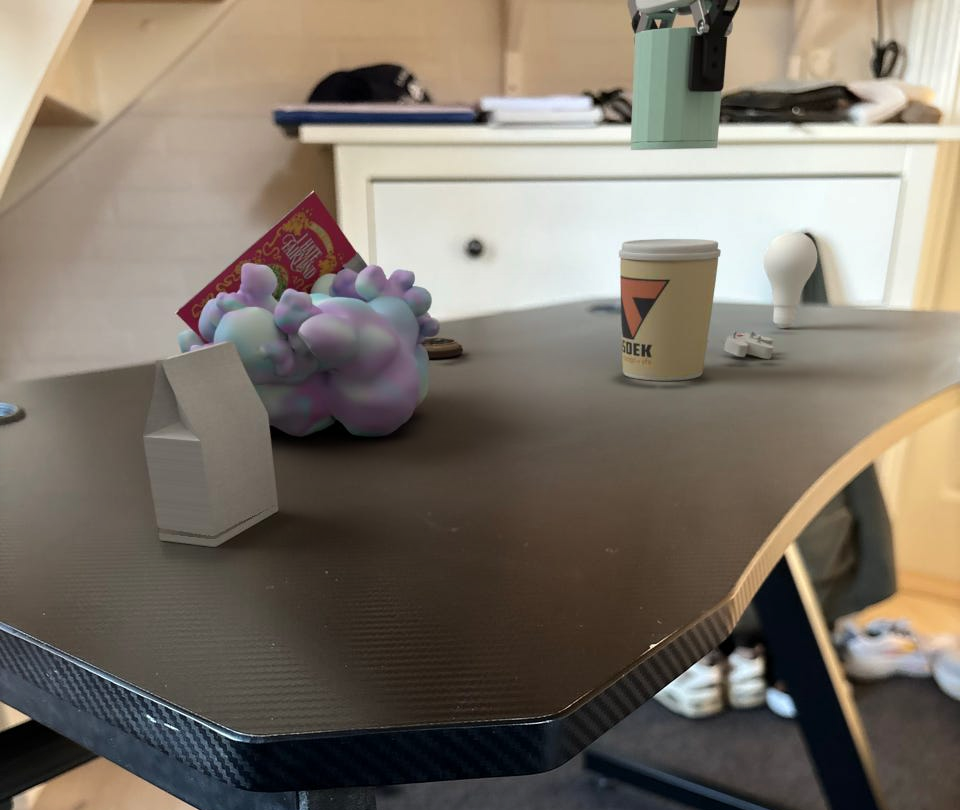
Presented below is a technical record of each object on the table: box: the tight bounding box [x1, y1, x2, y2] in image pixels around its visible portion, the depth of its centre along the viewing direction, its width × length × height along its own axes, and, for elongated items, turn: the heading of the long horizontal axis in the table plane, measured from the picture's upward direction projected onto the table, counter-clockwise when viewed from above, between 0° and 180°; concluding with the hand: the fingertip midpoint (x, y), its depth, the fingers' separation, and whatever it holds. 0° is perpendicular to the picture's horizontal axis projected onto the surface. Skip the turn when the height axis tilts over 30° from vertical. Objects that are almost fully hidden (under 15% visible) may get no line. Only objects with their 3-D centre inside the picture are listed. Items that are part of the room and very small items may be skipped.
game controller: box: [707, 330, 774, 360], centre depth 107 cm, size 6×12×3 cm, turn 61°
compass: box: [420, 337, 464, 359], centre depth 110 cm, size 8×8×7 cm
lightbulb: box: [763, 231, 818, 329], centre depth 121 cm, size 6×6×11 cm
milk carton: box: [142, 341, 279, 548], centre depth 57 cm, size 4×7×10 cm, turn 160°
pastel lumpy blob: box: [175, 190, 441, 438], centre depth 79 cm, size 20×22×18 cm
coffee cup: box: [618, 238, 722, 382], centre depth 96 cm, size 9×9×12 cm
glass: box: [630, 26, 723, 151], centre depth 88 cm, size 8×8×9 cm
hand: (677, 93), depth 88 cm, fingers closed on glass, 7 cm apart
